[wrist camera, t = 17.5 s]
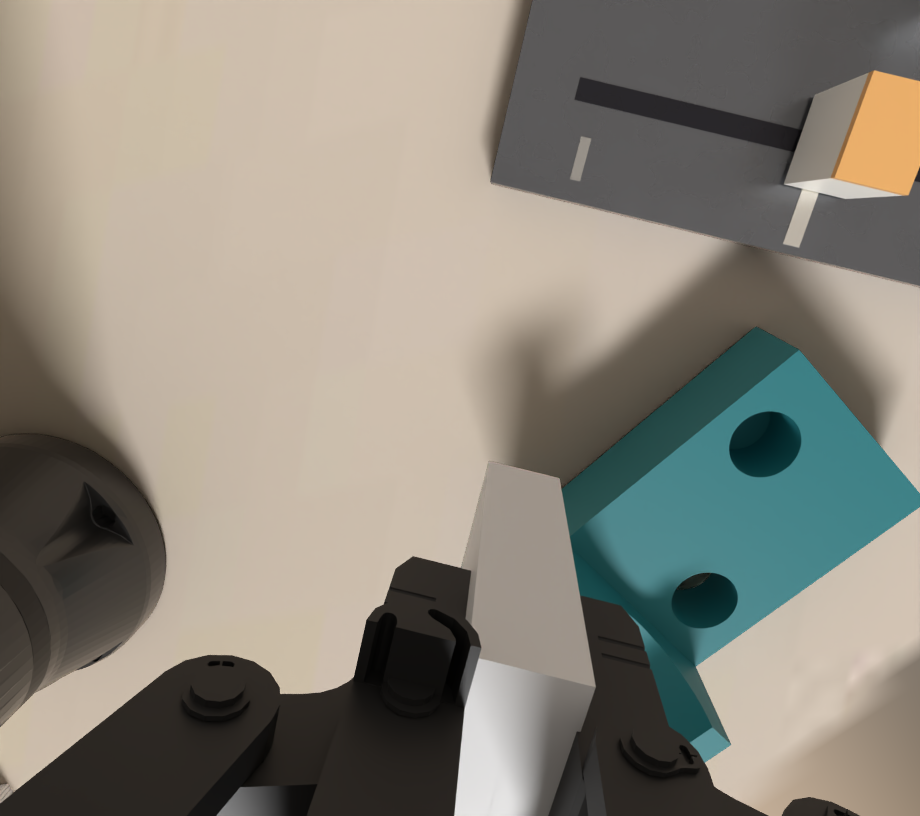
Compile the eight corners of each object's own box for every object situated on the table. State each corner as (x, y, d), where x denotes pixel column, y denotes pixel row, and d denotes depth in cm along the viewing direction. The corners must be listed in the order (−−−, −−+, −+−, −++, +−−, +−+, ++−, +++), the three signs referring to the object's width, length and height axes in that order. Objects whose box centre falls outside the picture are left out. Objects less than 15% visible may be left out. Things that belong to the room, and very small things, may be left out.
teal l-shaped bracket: (624, 644, 43) (670, 785, 33) (507, 534, 41) (519, 651, 31) (870, 461, 39) (1007, 560, 29) (756, 326, 36) (862, 384, 27)
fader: (783, 184, 33) (834, 177, 27) (814, 94, 31) (874, 70, 26) (845, 199, 33) (908, 195, 27) (878, 110, 31) (950, 88, 26)
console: (491, 183, 36) (490, 182, 34) (587, -228, 31) (592, -258, 29) (961, 297, 36) (988, 302, 34) (1134, -99, 31) (1177, -121, 29)
